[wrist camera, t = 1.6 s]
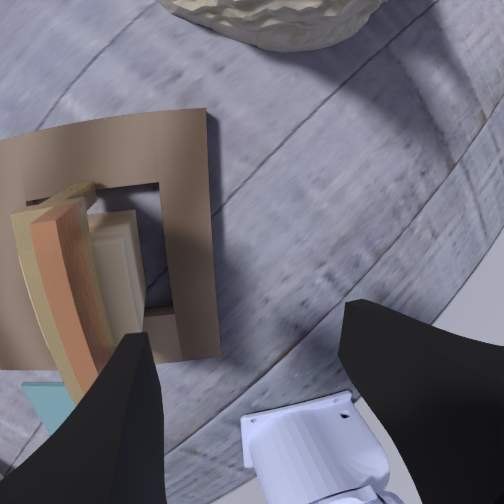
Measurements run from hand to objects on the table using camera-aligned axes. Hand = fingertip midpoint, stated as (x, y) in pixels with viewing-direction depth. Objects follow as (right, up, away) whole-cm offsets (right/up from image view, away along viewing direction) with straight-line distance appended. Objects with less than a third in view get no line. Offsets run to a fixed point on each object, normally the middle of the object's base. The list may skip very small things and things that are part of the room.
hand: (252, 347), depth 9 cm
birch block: (-8, +3, +7) cm, 11 cm away
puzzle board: (-12, +2, +6) cm, 13 cm away
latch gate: (-8, +2, +6) cm, 10 cm away
